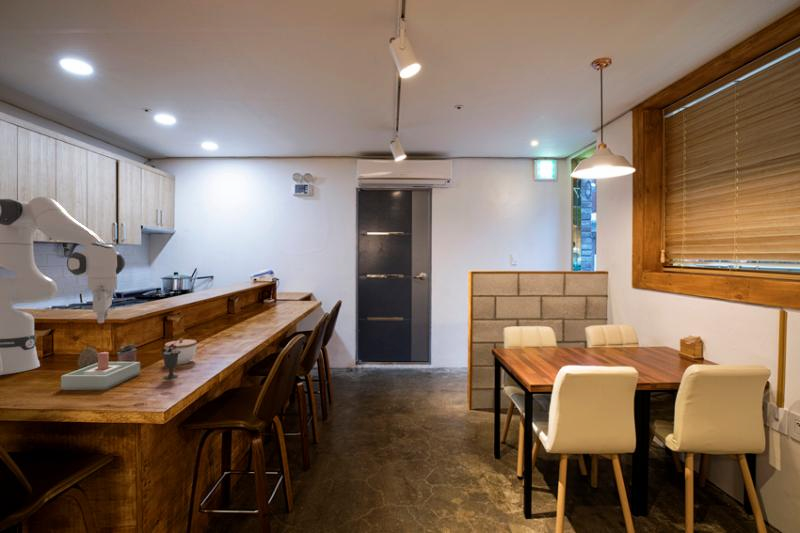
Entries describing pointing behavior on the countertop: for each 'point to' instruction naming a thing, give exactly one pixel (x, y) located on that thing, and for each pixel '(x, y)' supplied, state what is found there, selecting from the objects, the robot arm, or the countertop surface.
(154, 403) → the countertop surface
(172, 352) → the sundae
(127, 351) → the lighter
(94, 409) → the countertop surface
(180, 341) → the lidded bowl
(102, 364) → the dowel
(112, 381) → the box
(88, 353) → the decorative egg
